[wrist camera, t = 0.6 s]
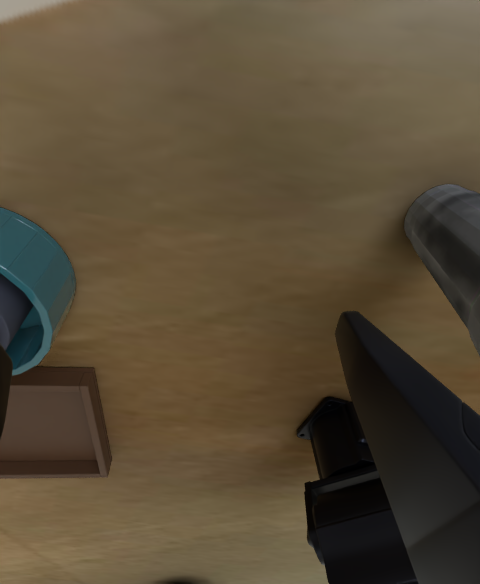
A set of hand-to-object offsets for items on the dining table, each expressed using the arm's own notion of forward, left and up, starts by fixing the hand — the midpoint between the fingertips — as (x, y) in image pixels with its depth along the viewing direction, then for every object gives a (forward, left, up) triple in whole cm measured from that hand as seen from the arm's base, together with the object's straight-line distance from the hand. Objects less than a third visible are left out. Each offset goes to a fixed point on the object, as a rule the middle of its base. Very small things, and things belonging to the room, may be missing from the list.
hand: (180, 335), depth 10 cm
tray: (-29, +10, -15) cm, 34 cm away
